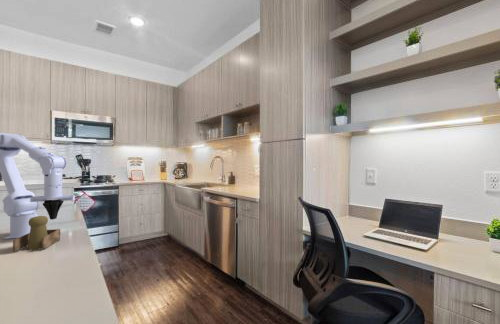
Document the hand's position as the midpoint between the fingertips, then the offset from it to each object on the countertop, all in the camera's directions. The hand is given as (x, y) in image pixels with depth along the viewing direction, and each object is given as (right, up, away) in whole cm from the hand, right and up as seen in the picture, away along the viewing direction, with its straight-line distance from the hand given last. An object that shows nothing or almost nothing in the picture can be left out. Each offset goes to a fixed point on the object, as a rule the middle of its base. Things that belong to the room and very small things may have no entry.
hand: (53, 218), depth 95 cm
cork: (+3, -8, -10) cm, 13 cm away
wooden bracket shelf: (+3, -8, -10) cm, 13 cm away
